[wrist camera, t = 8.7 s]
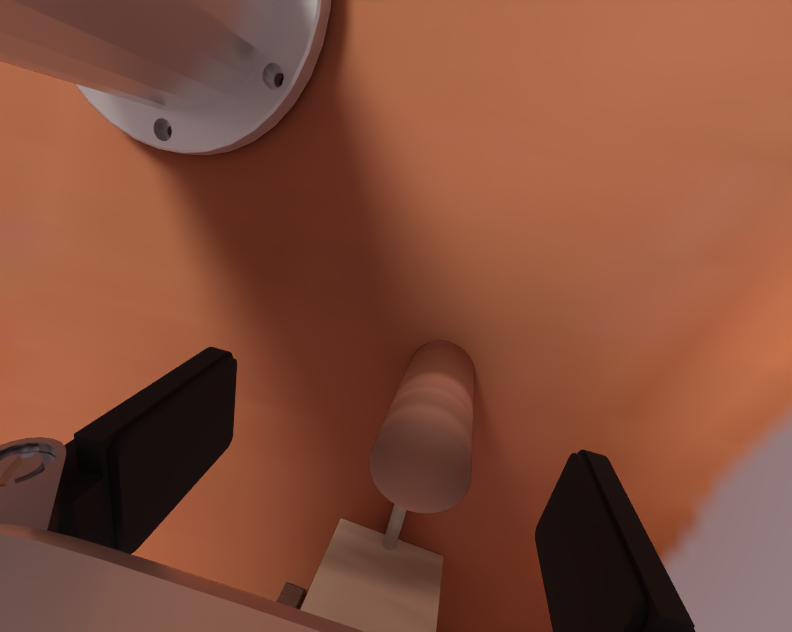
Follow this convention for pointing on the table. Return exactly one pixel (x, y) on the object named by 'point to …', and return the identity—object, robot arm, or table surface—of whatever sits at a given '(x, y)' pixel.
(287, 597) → the block
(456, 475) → the corded block
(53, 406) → the table surface
